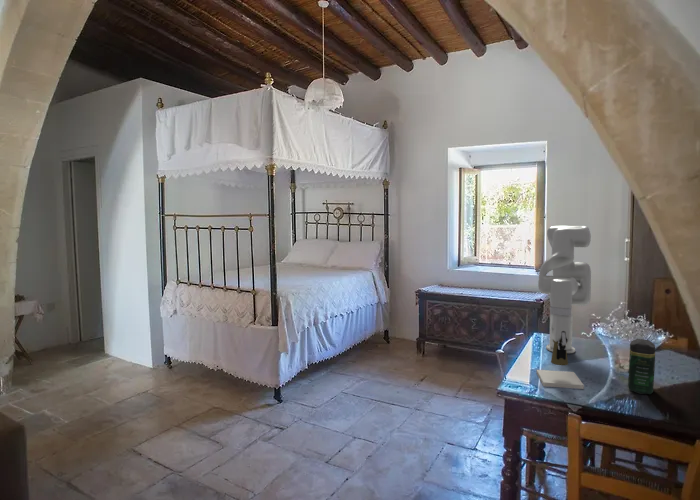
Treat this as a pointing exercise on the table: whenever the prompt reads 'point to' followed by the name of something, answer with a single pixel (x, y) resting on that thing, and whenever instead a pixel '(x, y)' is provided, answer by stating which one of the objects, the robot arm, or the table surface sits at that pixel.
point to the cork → (554, 354)
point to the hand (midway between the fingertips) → (559, 357)
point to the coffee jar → (641, 366)
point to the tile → (559, 379)
